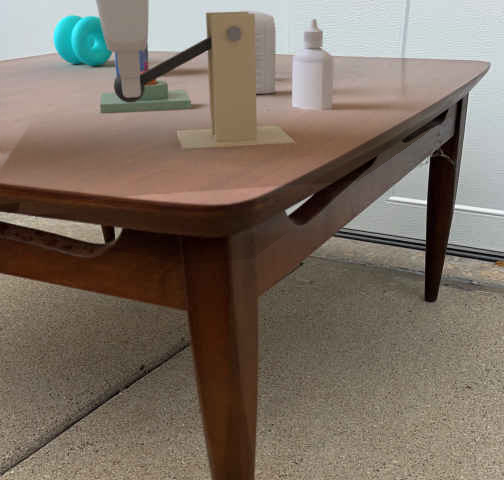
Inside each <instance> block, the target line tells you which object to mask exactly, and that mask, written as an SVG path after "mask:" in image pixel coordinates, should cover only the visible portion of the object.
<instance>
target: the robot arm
mask: <svg viewBox="0 0 504 480" xmlns="http://www.w3.org/2000/svg"><path fill="white" fill-rule="evenodd" d="M95 3H96V8H97V12H98V18H100V22H101V26H102V31H103V35H104V38H105V42H106V45H107V48H108V50H109V51H111V52H112V53H115V52H117V61H118V67H119V72H120V77H121V84H122V93H123V95H124V96H125V97H126V98H130V97H139V96H140V95H141V86H140V58H139V51H141V50H145V49H146V47H147V43H148V38H149V12H150V11H149V8H150V7H149V6H150V4H149V3H150V0H95Z"/></svg>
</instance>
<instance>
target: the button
mask: <svg viewBox="0 0 504 480" xmlns="http://www.w3.org/2000/svg"><path fill="white" fill-rule="evenodd" d="M144 72H146V71H140V74H142V73H144ZM156 80H157V78H156V79H154V80H153V81H151V82H149V83H147V84H145V85H153V84H157V81H156Z"/></svg>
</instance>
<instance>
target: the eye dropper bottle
mask: <svg viewBox="0 0 504 480" xmlns="http://www.w3.org/2000/svg"><path fill="white" fill-rule="evenodd" d="M323 32H324V31H323V30H322V29H320V28H319V27H318V22H317V18H311V19H310V21H309V26H308V28H307V29H306V30H304V31H303V49H302V50H299V51H297V52H295V54H294V55H293V57H292V69H291V70H292V71H291V72H292V73H291V76H292V77H291V78H292V79H291V81H292V82H291V83H292V84H291V106H292V107H294V108H297V109H304V110H311V111H326V110H332V109H333V97H334V94H333V92H334V58H333V55H332V54H330V53H329V52H328V51H326V50H324V49H323V43H324V42H323V41H324V39H323V38H324V37H323V35H324V33H323Z"/></svg>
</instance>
